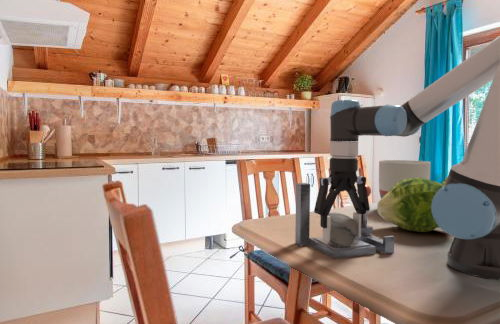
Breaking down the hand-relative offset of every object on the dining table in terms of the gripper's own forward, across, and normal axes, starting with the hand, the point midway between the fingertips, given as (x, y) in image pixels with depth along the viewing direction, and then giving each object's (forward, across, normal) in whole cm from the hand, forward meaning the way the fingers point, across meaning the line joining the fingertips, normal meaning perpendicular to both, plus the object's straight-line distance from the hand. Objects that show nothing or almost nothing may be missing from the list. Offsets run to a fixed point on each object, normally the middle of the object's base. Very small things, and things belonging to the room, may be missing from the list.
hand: (341, 237), depth 100 cm
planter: (+4, -58, -38) cm, 69 cm away
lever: (+1, -11, -5) cm, 12 cm away
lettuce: (+4, -36, -10) cm, 37 cm away
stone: (+1, 0, -1) cm, 1 cm away
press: (+4, -2, -2) cm, 4 cm away
